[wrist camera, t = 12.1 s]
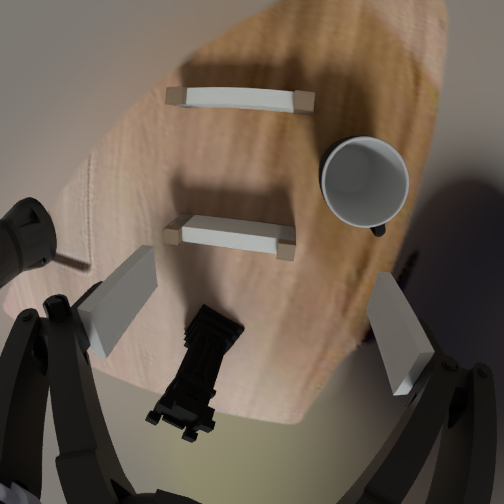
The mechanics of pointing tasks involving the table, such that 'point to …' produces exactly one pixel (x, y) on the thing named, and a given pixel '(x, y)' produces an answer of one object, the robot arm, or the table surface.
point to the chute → (226, 229)
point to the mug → (363, 181)
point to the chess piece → (197, 374)
